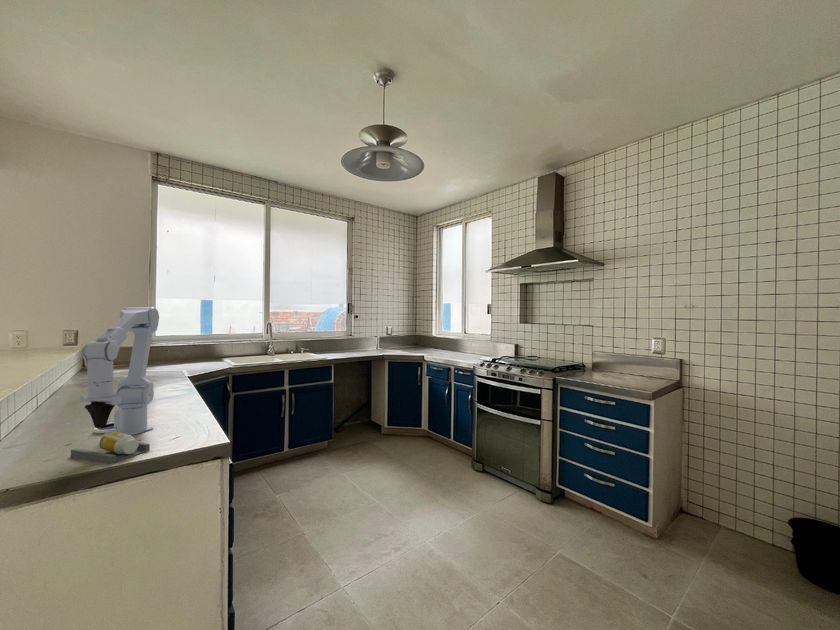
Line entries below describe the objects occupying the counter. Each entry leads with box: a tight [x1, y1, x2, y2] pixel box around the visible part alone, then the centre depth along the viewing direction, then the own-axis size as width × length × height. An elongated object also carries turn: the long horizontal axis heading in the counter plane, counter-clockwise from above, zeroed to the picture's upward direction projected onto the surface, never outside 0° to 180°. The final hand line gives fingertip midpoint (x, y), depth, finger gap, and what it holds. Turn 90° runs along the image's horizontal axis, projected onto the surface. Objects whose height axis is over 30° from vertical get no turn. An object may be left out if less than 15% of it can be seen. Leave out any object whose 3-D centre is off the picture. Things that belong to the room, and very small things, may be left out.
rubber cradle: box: [70, 441, 151, 465], centre depth 103 cm, size 17×10×2 cm, turn 73°
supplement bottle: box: [98, 430, 139, 454], centre depth 102 cm, size 5×5×10 cm
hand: (100, 427), depth 104 cm, fingers closed
